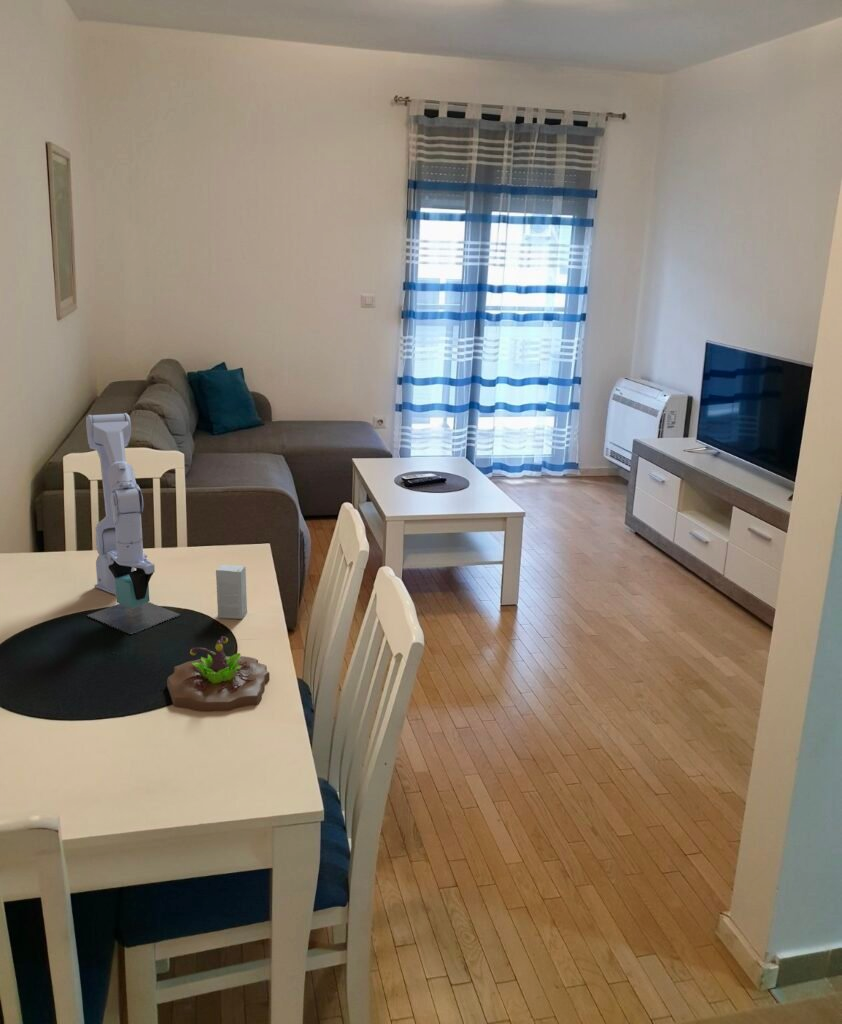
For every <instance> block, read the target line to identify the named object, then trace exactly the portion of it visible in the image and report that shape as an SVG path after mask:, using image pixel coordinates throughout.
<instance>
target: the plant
mask: <svg viewBox="0 0 842 1024" xmlns="http://www.w3.org/2000/svg"><path fill="white" fill-rule="evenodd" d="M228 641H229V638H228V637H226V636H225V635H224V636H222V635H221V637H220V639H218V640H217V641H216V644H215V650H216V652H215V651H212V650H210V649H208V648H205V647H192V648H191V649H190V650H189V654H190V655H191V656H197V654H198V653H197V652H199V651H201V652H204V653H205V654H207V658H206V657H203V656H201V657H200V658H199V659H198V658H197V659H195V660H189V661H185V662H183V663H182V664H179V665H176V666H174V667H173V673H172V674H171V675H169V676H168V677H167V680H166V683H167V686H166V687H167V689H168V692H169V696H170V698H171V702H172V704H173V706H174V707H176V708H181V709H188V710H192V711H195V712H201V713H202V712H204V713H205V712H206V713H210V712H230V711H234V710H235V709H238V708H243V707H244V708H245V707H249V706H250V707H252V706H258V705H259V704H260V703H261V701H262V700H263V697H262V696H263V695H264V693H265V691H266V690H265V689H266V688H265V686H266V683H267V682H270V678H271V677H270V675H271V674H270V672H269V671H268V670H267V665H266V664H263V663H260V662H259V659H257V658H254V657H251V656H243V655H241V654H242V653H234V654H233V655H231V656H227V655H226V654H225V652H224V644H227V643H228Z"/></svg>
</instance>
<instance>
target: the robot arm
mask: <svg viewBox="0 0 842 1024" xmlns="http://www.w3.org/2000/svg"><path fill="white" fill-rule="evenodd" d="M85 418H86V419H85V428H86V435H87V436H86V437H87V444H88V445H89V449H91V450H94V451H96V452H97V454H98V457H99V463H100V472H101V478H102V479H101V480H102V490H103V491H102V492H103V499H104V500H103V501H104V511H105V516H104V518H102V519H101V520H100V521H99V522H98V523H97V524H96V526H95V546H96V551H97V552H96V553H97V554H98V555H97V557H96V560H95V572H96V583H97V584H94V585H93V586H94V588H97V589H99V590H102V591H104V592H107V593H109V594H113V595H114V596H116V584H115V578H117V577H121V576H124V575H127V574H129V576H130V578H131V580H132V583H133V586H134V592H135V597H136V599H137V600H140V599H143V598H145V596H146V591H147V587H148V583H150V580H151V578H152V576H153V575H154V573H155V572H156V570H155V569H156V568H155V564H154V563H152V562H150V560H149V559H148V555H147V554H146V553H144V545H143V544H144V543H143V528H142V513H143V511H144V498H143V497H144V496H143V494H142V493H143V492H142V490H141V488H140V486H139V484H137V481H136V477H135V476H136V475H135V473H134V468H133V466H132V464H130V463H128V462H127V457H126V449H125V448H126V447H128V446H129V443H130V439H131V436H132V422H131V421H132V420H131V418H130V415H129V414H128V413H127V412H124V413H111V414H108V413H106V414H88V415H87V416H86V417H85ZM112 528H114V529H112Z"/></svg>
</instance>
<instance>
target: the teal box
mask: <svg viewBox="0 0 842 1024" xmlns="http://www.w3.org/2000/svg"><path fill="white" fill-rule="evenodd" d="M149 583H150V582H149ZM149 583H148V587H147V591H146V596H145V598H143V599H140V600H137V599H136V597H135V592H134V586H133V583H132V580H131V578H130V576H129V574H127V575H124V576H121V577H117V578H115V584H116V595H115V596H116V597H115V598H116V599H115V600H116V603H117V604H122V605H125V606H127V607H130V608H132V607H135V606H138V605H141V604H144V603H147V602H150V585H149Z"/></svg>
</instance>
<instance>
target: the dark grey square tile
mask: <svg viewBox="0 0 842 1024" xmlns="http://www.w3.org/2000/svg"><path fill="white" fill-rule="evenodd" d="M87 616H88V617H87ZM178 616H179V617H181V614H180V613H179V612H175V611H173V610H170V609H168V608H166V607H163V606H159V605H157V604H154V603H152V602H150V601H149V602H147V603H144V604H141V605H138V606H135V607H132V608H130V607H127V606H125V605H122V604H119V603H117V604H114V605H112V606H109V607H106V608H103V609H100V610H98V611H95V612H92V613H89V614H87V615H86V617H87V618H89V617H90V619H93V620H94V619H95V620H94V621H96V620H97V622H99V621H100V622H99V623H101V622H102V624H104V623H105V624H104V625H106V624H107V625H106V626H108V625H109V627H111V628H113V627H114V628H113V629H115V628H116V630H118V629H119V630H118V631H120V630H121V631H120V632H122V631H123V633H125V632H126V633H125V634H127V633H128V635H130V634H132V635H134V634H133V633H135V634H137V633H140V632H142V630H143V631H145V630H148V629H150V628H153V627H156V626H157V624H158V625H160V624H159V623H161V624H163V623H165V622H164V621H166V622H168V621H171V620H173V619H172V618H174V619H176V618H179V617H178ZM175 617H176V618H175ZM170 619H171V620H170ZM167 620H168V621H167ZM162 622H163V623H162ZM155 625H156V626H155ZM152 626H153V627H152ZM144 629H145V630H144Z"/></svg>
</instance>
